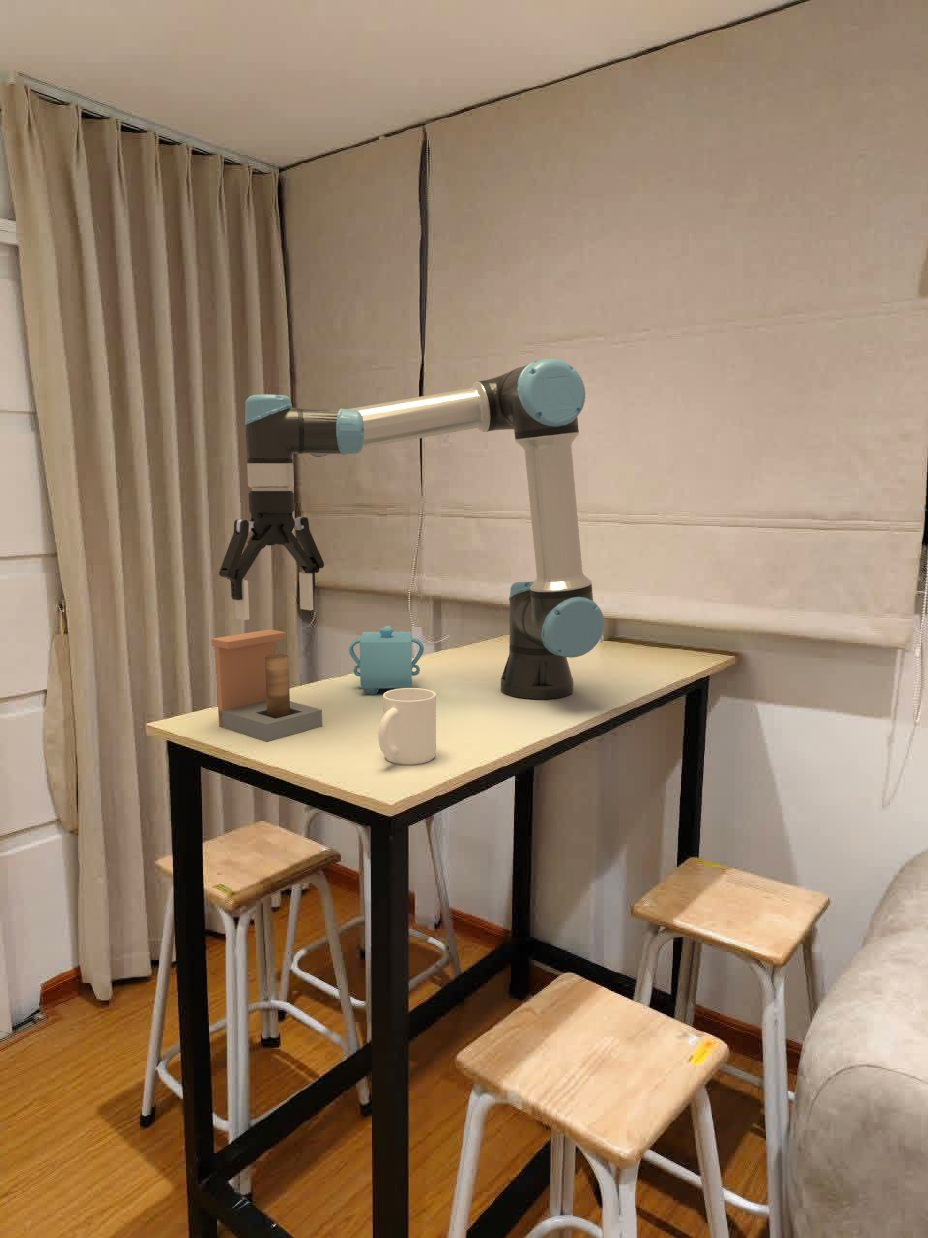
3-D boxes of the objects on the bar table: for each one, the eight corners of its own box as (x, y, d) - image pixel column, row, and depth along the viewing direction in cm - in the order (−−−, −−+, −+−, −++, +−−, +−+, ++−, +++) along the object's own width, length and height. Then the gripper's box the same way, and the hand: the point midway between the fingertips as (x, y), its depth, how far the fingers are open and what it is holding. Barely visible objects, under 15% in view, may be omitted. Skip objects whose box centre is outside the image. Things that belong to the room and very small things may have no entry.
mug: (402, 776, 127) (401, 709, 125) (358, 766, 131) (357, 701, 129) (446, 754, 137) (445, 692, 135) (403, 746, 141) (403, 685, 139)
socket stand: (323, 725, 153) (321, 638, 150) (265, 742, 143) (262, 649, 140) (273, 711, 162) (270, 629, 159) (215, 725, 152) (211, 638, 150)
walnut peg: (295, 728, 151) (293, 656, 149) (276, 733, 148) (274, 659, 146) (281, 724, 154) (278, 653, 151) (262, 729, 151) (260, 656, 148)
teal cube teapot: (424, 695, 174) (424, 633, 172) (347, 696, 173) (346, 633, 171) (422, 675, 192) (422, 618, 190) (353, 676, 191) (351, 619, 189)
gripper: (314, 488, 156) (317, 603, 159) (193, 490, 137) (199, 620, 140) (341, 488, 151) (344, 607, 154) (220, 490, 132) (226, 625, 136)
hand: (275, 614), depth 147 cm, fingers open, 13 cm apart
